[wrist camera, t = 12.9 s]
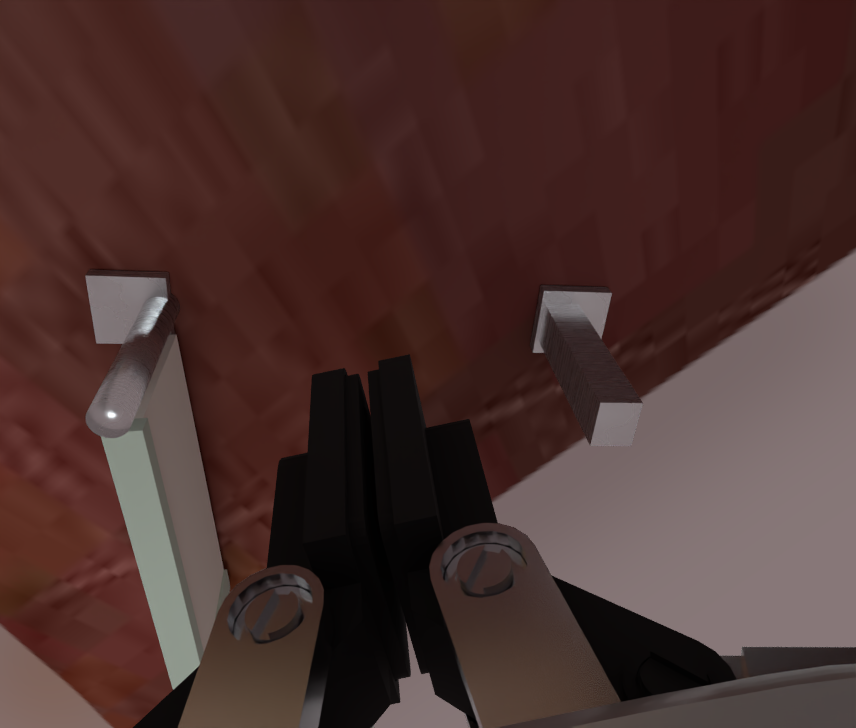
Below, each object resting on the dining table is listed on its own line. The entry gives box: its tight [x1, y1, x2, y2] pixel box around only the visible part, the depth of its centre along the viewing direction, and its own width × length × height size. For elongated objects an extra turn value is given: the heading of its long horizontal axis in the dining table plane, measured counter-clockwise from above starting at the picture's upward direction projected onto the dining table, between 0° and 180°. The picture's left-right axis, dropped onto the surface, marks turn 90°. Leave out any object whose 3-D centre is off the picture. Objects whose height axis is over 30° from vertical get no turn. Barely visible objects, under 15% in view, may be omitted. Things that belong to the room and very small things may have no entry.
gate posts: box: [85, 269, 643, 446], centre depth 37 cm, size 28×4×11 cm, turn 85°
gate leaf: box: [101, 335, 230, 690], centre depth 41 cm, size 20×2×9 cm, turn 0°
